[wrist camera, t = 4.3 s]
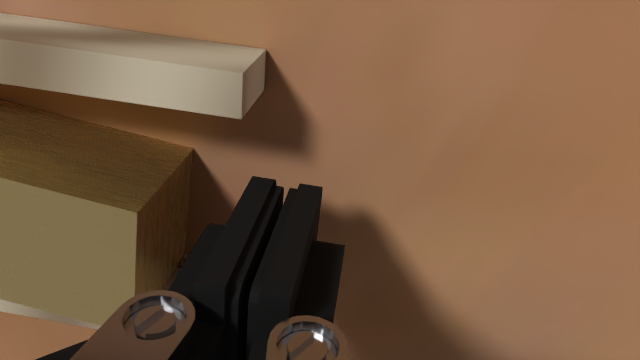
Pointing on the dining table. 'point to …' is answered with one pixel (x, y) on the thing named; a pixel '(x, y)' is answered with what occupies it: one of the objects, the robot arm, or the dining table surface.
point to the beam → (127, 78)
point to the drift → (86, 213)
